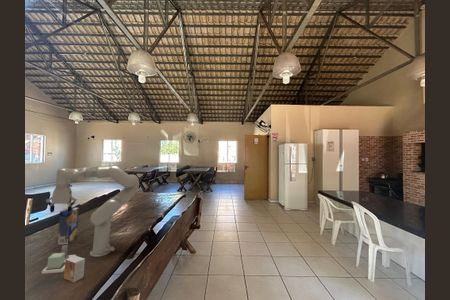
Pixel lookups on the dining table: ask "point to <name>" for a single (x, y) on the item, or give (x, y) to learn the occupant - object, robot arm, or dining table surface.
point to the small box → (74, 268)
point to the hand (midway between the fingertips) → (60, 211)
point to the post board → (62, 268)
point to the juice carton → (68, 226)
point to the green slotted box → (56, 260)
